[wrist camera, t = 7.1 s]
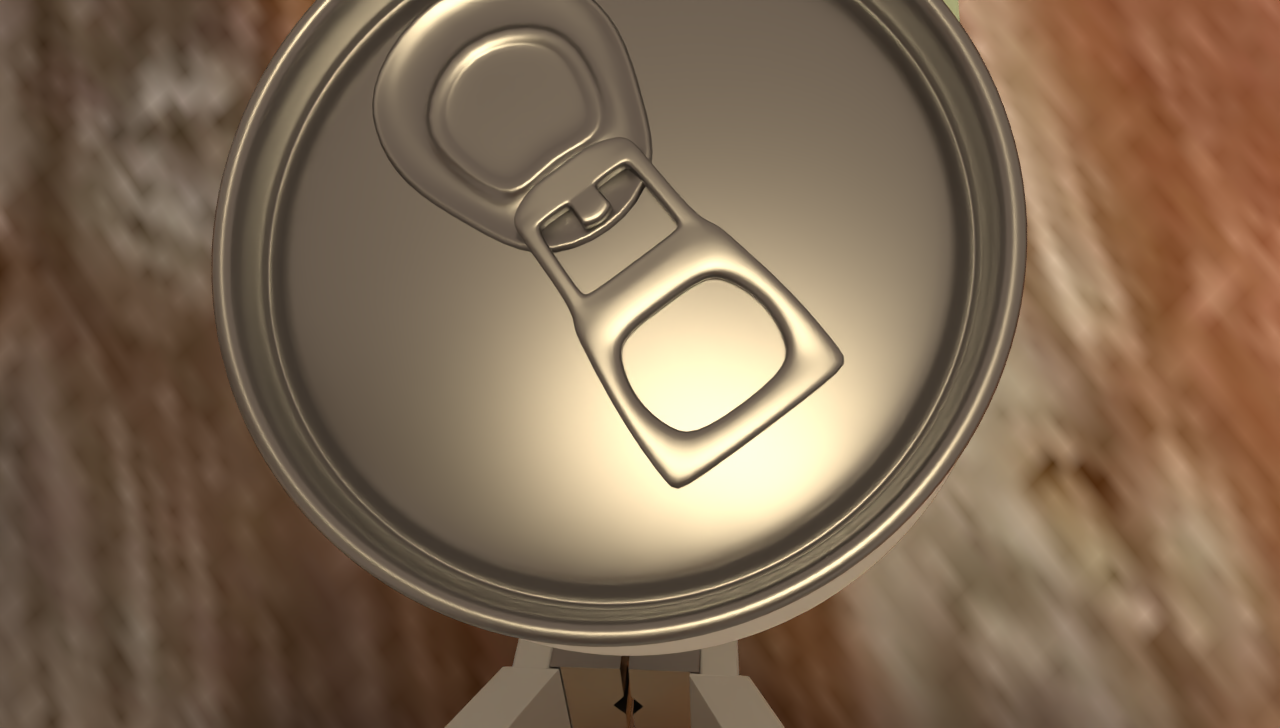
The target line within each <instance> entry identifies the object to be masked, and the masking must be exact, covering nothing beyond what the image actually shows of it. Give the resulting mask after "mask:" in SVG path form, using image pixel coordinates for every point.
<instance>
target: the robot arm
mask: <svg viewBox="0 0 1280 728" xmlns="http://www.w3.org/2000/svg"><path fill="white" fill-rule="evenodd" d="M632 698H634V710H633V717H634V725H635V728H785V727H784V726H783V724H782V723H781V721H780V720H779V719H778V717H777V716H776V714H775V713H774V711H773V710H772V709H771V707H770V706H769V704H768V703H767V701H766V700H765V698H764V697H763V696H762V694H761V693H760V691H759V690H758V688H757V687H756V686H755V684H754V683H753V681H752V680H751V678H750V677H749V676H742V675H739V659H738V640H736V641H732V642H728V643H725V644H721V645H717V646H713V647H708V648H703V649H698V650H692V651H686V652H680V653H671V654H661V655H644V656H617V655H600V654H590V653H582V652H575V651H569V650H563V649H558V648H554V647H549V646H545V645H541V644H537V643H533V642H530V641H526V640H523V639H520V638H519V640H518V645H517V649H516V653H515V657H514V661H513V665H512V667H510V666H503V667H502V668H501V669H500V670H499V671H498V672H497V673H496V674H495V675H494V676H493V677H492V678H491V679H490V680H489V682H488V683H487V684H486V685H485V686H484V687H483V688H482V689H481V690H480V691H479V692H478V693H477V694H476V695H475V696H474V697H473V698H472V699H471V700H470V701H469V702H468V703H467V705H466V706H465V707H464V708H463V709H462V710H461V711H460V712H459V713H458V714H457V715H456V716H455V717H454V718H453V719H452V720H451V721H450V722H449V723H448V724H447V725H446V726H445V728H630V717H631V707H632Z"/></svg>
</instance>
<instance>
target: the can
mask: <svg viewBox="0 0 1280 728" xmlns="http://www.w3.org/2000/svg"><path fill="white" fill-rule="evenodd" d="M1026 258H1027V216H1026V202H1025V193H1024V184H1023V178H1022V172H1021V167H1020V162H1019V157H1018V153H1017V148H1016V144H1015V140H1014V137H1013V133H1012V130H1011V126H1010V123H1009V120H1008V117H1007V114H1006V111H1005V108H1004V106H1003V103H1002V101H1001V98H1000V96H999V93H998V91H997V88H996V86H995V84H994V82H993V80H992V77H991V75H990V73H989V71H988V69H987V67H986V65H985V63H984V61H983V59H982V58H981V56H980V54H979V52H978V50H977V49H976V47H975V45H974V44H973V42H972V40H971V39H970V37H969V36H968V34H967V33H966V31H965V30H964V28H963V27H962V25H961V24H960V22H959V21H958V19H957V18H956V17H955V15H954V14H953V13H952V11H951V10H950V9H949V7H948V6H947V5H946V3H945V2H944V1H943V0H316V1H315V2H314V3H313V4H312V6H311V7H310V8H309V9H308V10H307V11H306V13H305V14H304V15H303V16H302V18H301V19H300V20H299V21H298V23H297V24H296V25H295V26H294V28H293V29H292V30H291V32H290V33H289V35H288V36H287V37H286V39H285V40H284V42H283V43H282V44H281V46H280V47H279V49H278V51H277V52H276V54H275V55H274V57H273V58H272V60H271V62H270V63H269V65H268V67H267V68H266V70H265V72H264V73H263V75H262V77H261V79H260V81H259V83H258V84H257V86H256V88H255V90H254V92H253V94H252V96H251V98H250V100H249V103H248V105H247V107H246V109H245V111H244V114H243V116H242V119H241V121H240V123H239V126H238V129H237V131H236V134H235V137H234V139H233V142H232V145H231V148H230V152H229V155H228V158H227V162H226V165H225V169H224V173H223V176H222V181H221V185H220V190H219V195H218V201H217V206H216V213H215V220H214V228H213V241H212V264H211V269H212V295H213V307H214V315H215V323H216V329H217V335H218V340H219V345H220V350H221V354H222V358H223V362H224V366H225V369H226V373H227V377H228V380H229V383H230V386H231V389H232V392H233V395H234V397H235V400H236V402H237V405H238V408H239V410H240V413H241V415H242V417H243V419H244V422H245V424H246V426H247V428H248V430H249V432H250V434H251V436H252V438H253V440H254V442H255V444H256V446H257V448H258V450H259V451H260V453H261V455H262V456H263V458H264V460H265V462H266V463H267V465H268V466H269V468H270V470H271V471H272V473H273V474H274V476H275V477H276V479H277V480H278V482H279V483H280V484H281V486H282V487H283V489H284V490H285V491H286V493H287V494H288V495H289V497H290V498H291V499H292V500H293V502H294V503H295V504H296V505H297V507H298V508H299V509H300V510H301V511H302V513H303V514H304V515H305V516H306V517H307V518H308V519H309V520H310V521H311V523H312V524H313V525H314V526H315V527H316V528H317V529H318V530H319V531H320V532H321V533H322V534H323V535H324V536H325V537H326V538H327V539H328V540H329V541H330V542H332V543H333V544H334V545H335V546H336V547H337V548H338V549H339V550H340V551H342V552H343V553H344V554H345V555H346V556H348V557H349V558H350V559H351V560H352V561H354V562H355V563H356V564H357V565H359V566H360V567H361V568H363V569H364V570H366V571H367V572H368V573H370V574H371V575H372V576H374V577H375V578H377V579H378V580H380V581H381V582H383V583H385V584H386V585H388V586H389V587H391V588H392V589H394V590H396V591H398V592H399V593H401V594H403V595H404V596H406V597H408V598H410V599H412V600H414V601H416V602H418V603H420V604H421V605H423V606H425V607H427V608H430V609H432V610H434V611H436V612H439V613H441V614H443V615H445V616H448V617H450V618H453V619H456V620H458V621H461V622H463V623H466V624H469V625H472V626H475V627H478V628H481V629H484V630H488V631H492V632H495V633H499V634H503V635H507V636H511V637H516V638H520V639H523V640H526V641H530V642H533V643H537V644H541V645H545V646H549V647H554V648H558V649H563V650H569V651H575V652H582V653H590V654H600V655H617V656H644V655H661V654H671V653H680V652H686V651H692V650H698V649H703V648H708V647H713V646H717V645H721V644H725V643H728V642H732V641H736V640H739V639H742V638H745V637H748V636H751V635H754V634H757V633H759V632H762V631H765V630H767V629H770V628H772V627H775V626H777V625H779V624H782V623H784V622H786V621H788V620H790V619H792V618H794V617H796V616H798V615H800V614H802V613H804V612H806V611H808V610H810V609H812V608H813V607H815V606H817V605H819V604H820V603H822V602H824V601H825V600H827V599H828V598H830V597H832V596H833V595H835V594H836V593H838V592H839V591H841V590H842V589H844V588H845V587H846V586H848V585H849V584H850V583H852V582H853V581H855V580H856V579H857V578H858V577H860V576H861V575H862V574H863V573H865V572H866V571H867V570H868V569H870V568H871V567H872V566H873V565H874V564H875V563H877V562H878V561H879V560H880V559H881V558H882V557H883V556H884V555H885V554H886V553H887V552H888V551H889V550H890V549H892V548H893V547H894V546H895V545H896V544H897V543H898V542H899V540H900V539H901V538H902V537H903V536H904V535H905V534H906V533H907V532H908V531H909V530H910V528H911V527H912V526H913V525H914V524H915V522H916V521H917V520H918V519H919V518H920V516H921V515H922V514H923V513H924V511H925V510H926V509H927V507H928V506H929V505H930V503H931V502H932V500H933V499H934V498H935V496H936V495H937V493H938V492H939V490H940V489H941V487H942V486H943V484H944V483H945V481H946V479H947V478H948V476H949V474H950V472H951V471H952V469H953V467H954V466H955V464H956V462H957V460H958V458H959V457H960V455H961V454H962V452H963V451H964V449H965V448H966V446H967V445H968V443H969V441H970V439H971V438H972V436H973V434H974V433H975V431H976V429H977V427H978V426H979V424H980V422H981V420H982V418H983V416H984V414H985V412H986V410H987V408H988V406H989V404H990V402H991V399H992V397H993V395H994V393H995V390H996V388H997V386H998V383H999V381H1000V378H1001V375H1002V373H1003V370H1004V368H1005V365H1006V361H1007V358H1008V355H1009V352H1010V349H1011V346H1012V342H1013V338H1014V335H1015V331H1016V327H1017V323H1018V318H1019V313H1020V308H1021V303H1022V296H1023V290H1024V282H1025V272H1026Z"/></svg>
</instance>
